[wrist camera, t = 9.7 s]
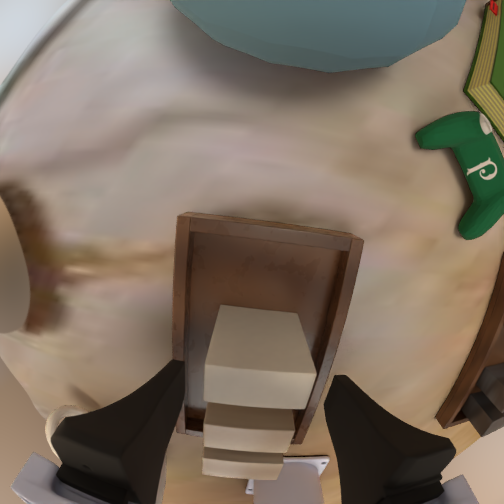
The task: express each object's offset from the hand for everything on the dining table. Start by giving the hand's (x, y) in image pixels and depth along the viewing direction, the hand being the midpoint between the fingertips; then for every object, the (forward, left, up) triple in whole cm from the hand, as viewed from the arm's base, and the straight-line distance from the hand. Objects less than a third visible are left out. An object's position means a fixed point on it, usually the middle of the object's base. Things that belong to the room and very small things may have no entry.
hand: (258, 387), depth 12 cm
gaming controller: (+13, -14, -7) cm, 20 cm away
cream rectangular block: (0, 0, -6) cm, 6 cm away
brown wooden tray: (-2, 0, -7) cm, 7 cm away
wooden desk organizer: (-2, -28, -7) cm, 29 cm away
